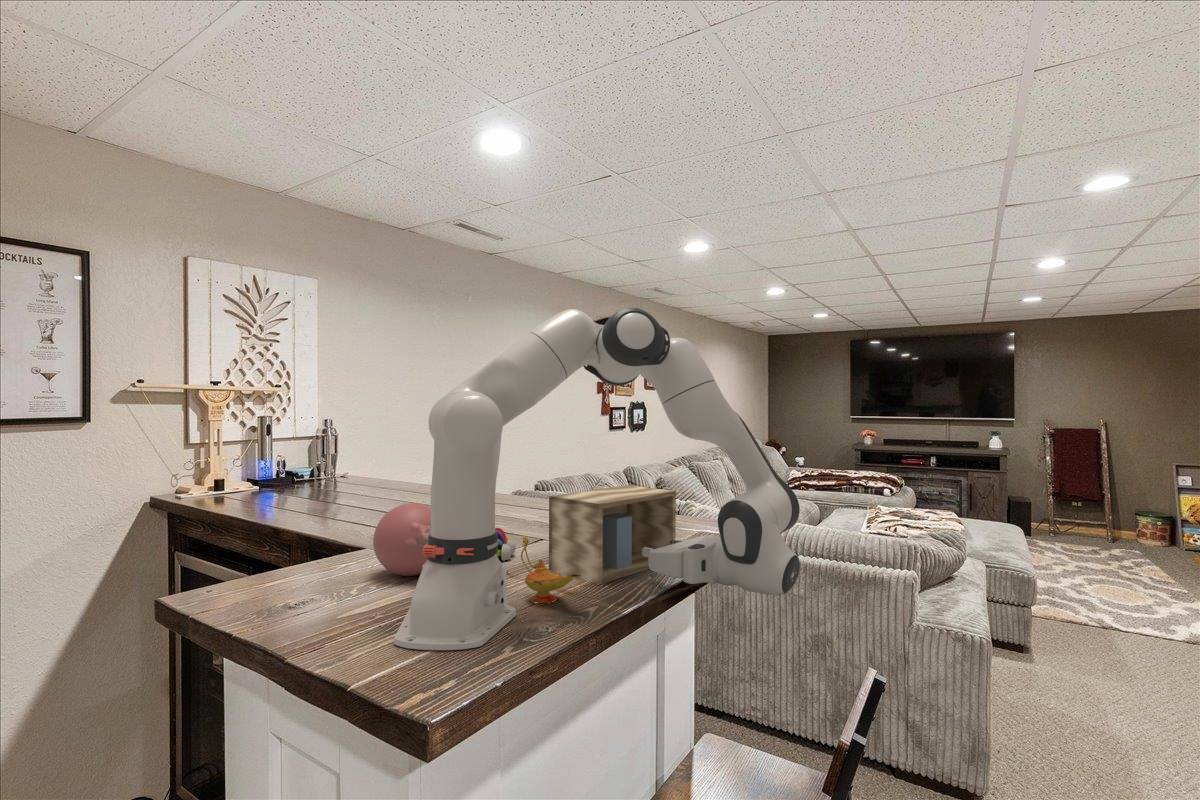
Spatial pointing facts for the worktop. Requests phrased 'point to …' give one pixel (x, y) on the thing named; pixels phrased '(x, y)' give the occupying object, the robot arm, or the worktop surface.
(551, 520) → the birch cubby
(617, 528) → the slate block
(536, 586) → the magic lamp
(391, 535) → the pink ball
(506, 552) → the multicolored small figure
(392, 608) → the worktop surface
